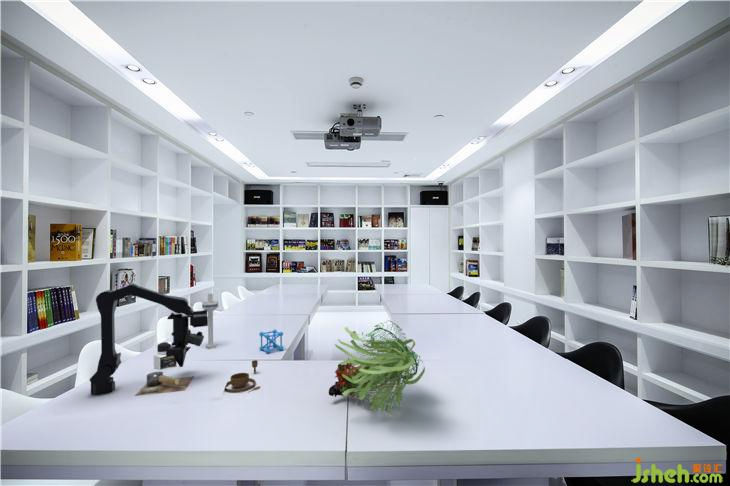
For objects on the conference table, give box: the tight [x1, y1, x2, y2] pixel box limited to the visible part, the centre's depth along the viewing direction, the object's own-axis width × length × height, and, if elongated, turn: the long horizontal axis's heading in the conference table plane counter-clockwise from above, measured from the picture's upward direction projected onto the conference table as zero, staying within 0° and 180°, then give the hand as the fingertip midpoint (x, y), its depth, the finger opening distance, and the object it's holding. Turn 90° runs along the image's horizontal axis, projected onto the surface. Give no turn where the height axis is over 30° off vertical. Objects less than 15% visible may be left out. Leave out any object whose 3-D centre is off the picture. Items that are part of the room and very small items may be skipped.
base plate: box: [134, 375, 195, 397], centre depth 137 cm, size 17×15×3 cm
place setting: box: [224, 360, 261, 394], centre depth 142 cm, size 18×20×6 cm
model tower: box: [201, 293, 219, 350], centre depth 194 cm, size 8×8×30 cm
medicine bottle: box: [153, 341, 178, 370], centre depth 161 cm, size 7×7×12 cm
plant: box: [328, 319, 426, 418], centre depth 119 cm, size 35×35×40 cm
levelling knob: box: [146, 371, 180, 386], centre depth 137 cm, size 16×6×4 cm, turn 65°
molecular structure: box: [258, 329, 284, 354], centre depth 187 cm, size 10×10×10 cm
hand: (181, 366), depth 143 cm, fingers closed
